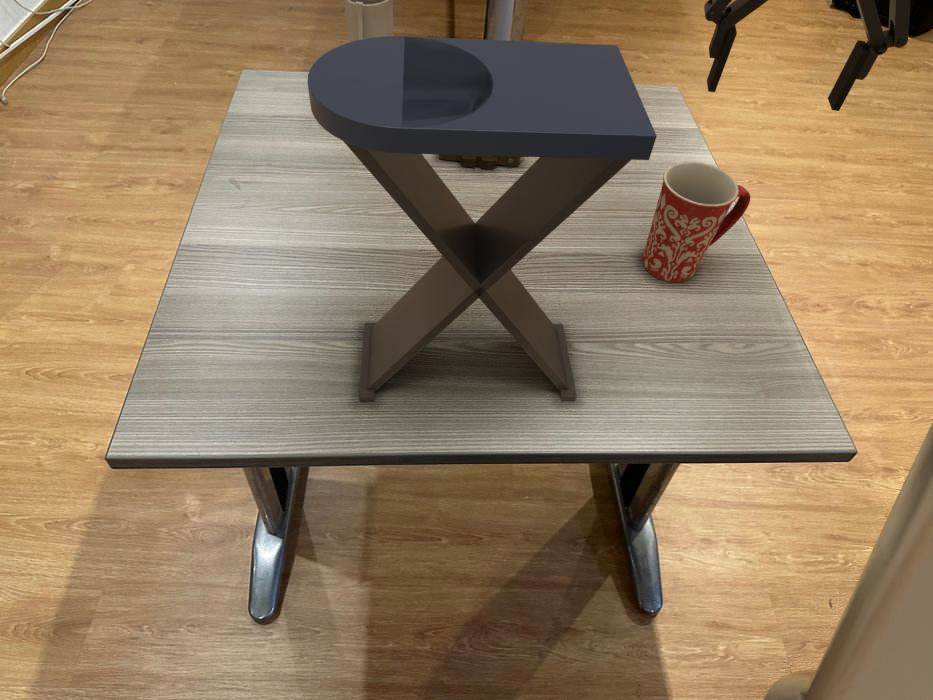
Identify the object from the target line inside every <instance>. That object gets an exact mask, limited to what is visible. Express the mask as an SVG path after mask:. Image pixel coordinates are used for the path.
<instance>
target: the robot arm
mask: <svg viewBox="0 0 933 700" xmlns="http://www.w3.org/2000/svg"><path fill="white" fill-rule="evenodd" d="M768 1H769V0H734V1H733V0H706V2H705V3H704V6H703V11H704V16H705V20H706V21H707V22H712V23H713V24H715V28H714V30H713V34H712V37H711V39H710V43H709V45H708V56H709V58H710V59H713V61H712V64H711V67H710V70H709V73H708V75H707V78H706V85H707V92H710V93H716V90H717V88H718V85H719V82H720V80H721V77H722V74H723V72H724V69H725V67H726V64H727V61H728V59H729V56H730V53H731V51H732V48H733V45H734V42H735V39H736V37H737V34H738V32H737V27H736V25H737V24H738V23H740V22H741V21H743V20H744V19H745V18H747V17H748V16H749V15H750V14H752V13H753V12H755V11H756V10H758V9H759V8H760V7H762V6H763V5H765V3H767V2H768ZM911 1H912V0H889V14H888V29H885V30H883V25H882V23H881V18H880V16H879V12H878V9H877V5H876V2H875V0H856V5H857V8H858V12H859V14H860V19H861V21H862V25H863V28H864V31H865V35H866V38H867V41H866V40H859V39H857V41H856V42H855V44H854V46H853V48H852V50H851V52H850V54H849V56H848V58H847V60H846V62H845V64H844V65H843V67H842V70H840V71H841V72H840V73H839V75H838V77H837V79H836V81H835V82H834V85H833V87H832V88H831V91H830V92H829V95H828V97H827V100H828V103H829V107H830V109H831V110H832V111H835V112H839V111H841V108H842V106H843V104H844V102H845V101H846V99H847V98H848V95H849V93H850V92H851V90H852V88H853V86H854V84H855V82H856V80H859V81H864V80H865V79H866V77H868V75H869V73H870V72H871V70H872V68H873V67H874V64H875V62H877V61H876V60H877V59H878V57H879V56H882V55H884V54H885V53H886V52H888V49H889V48H894V47H895V48H896V49H900V48H903V47H906V45H907V44H908V42H909V31H910V17H911V16H910V15H911ZM764 695H765V696H764V698H763V700H933V421H932V422H931V425H930V426H929V428H928V431H927V433H926V435H925V437H924V439H923V441H922V443H921V445H920V447H919V449H918V451H917V454H916V456H915V459H914V461H913V462H912V464H911V467H910V469H909V471H908V473H907V476H906V477H905V479H904V482H903V484H902V486H901V488H900V490H899V492H898V494H897V496H896V499H895V501H894V503H893V505H892V507H891V510H890V512H889V514H888V516H887V518H886V520H885V522H884V525H883V527H882V528H881V531H880V532H879V535H878V537H877V539H876V541H875V544H874V546H873V548H872V550H871V552H870V554H869V557H868V559H867V560H866V562H865V565H864V567H863V569H862V571H861V574H860V576H859V578H858V580H857V582H856V584H855V586H854V588H853V591H852V593H851V595H850V597H849V599H848V601H847V603H846V606H845V607H844V609H843V612H842V614H841V616H840V618H839V621H838V623H837V624H836V627H835V629H834V631H833V633H832V635H831V638H830V640H829V642H828V643H827V646H826V648H825V650H824V652H823V655H822V657H821V659H820V660H819V663H818V665H817V667H816V669H811V668H810V669H803V670H796V671H794V672H790V673H787V674H785V675H784V676H781V677H780V678H778V679H777V680H776V681H774V682H773V683H772V685H771V686H770V688H769V689H768V690H767V691H766V694H764Z"/></svg>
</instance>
